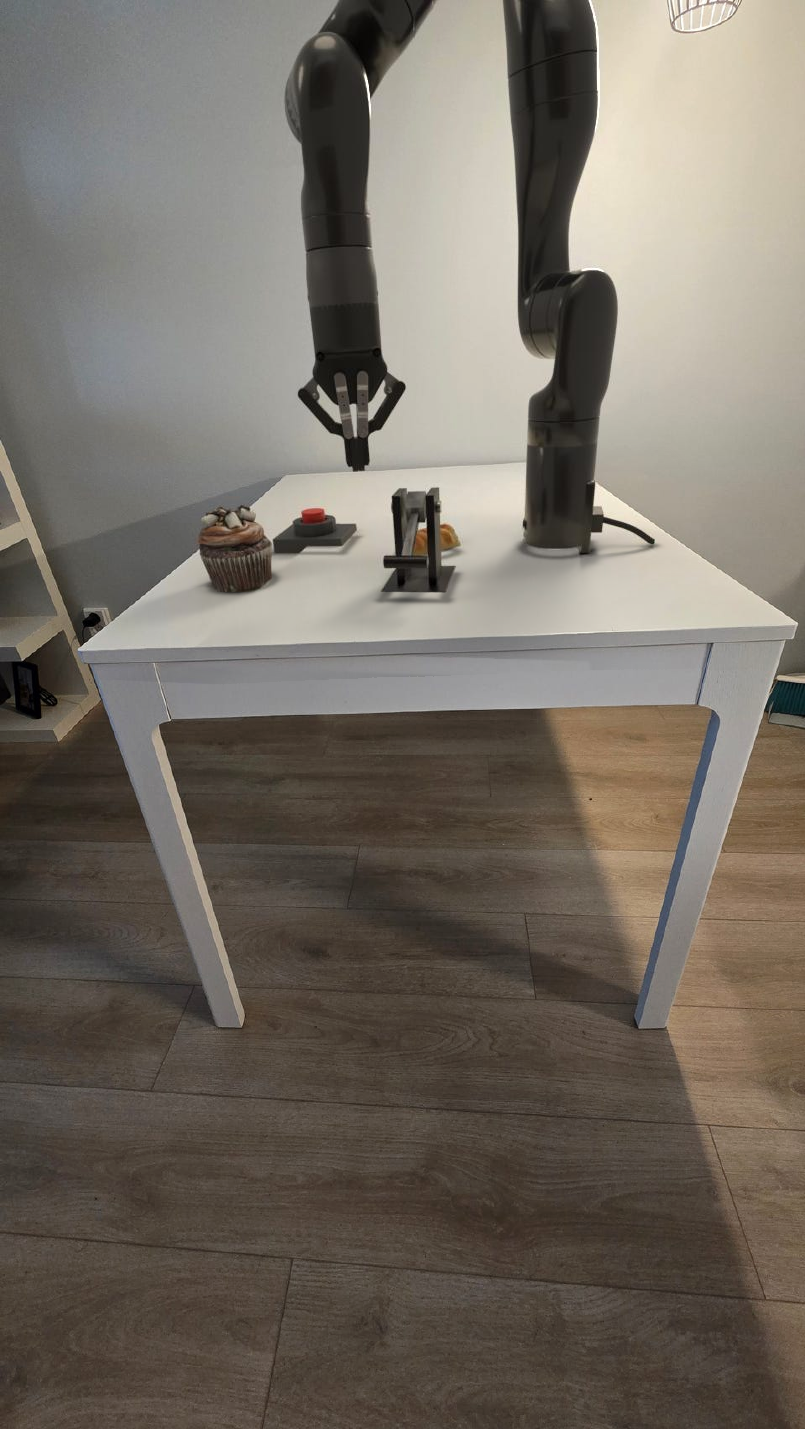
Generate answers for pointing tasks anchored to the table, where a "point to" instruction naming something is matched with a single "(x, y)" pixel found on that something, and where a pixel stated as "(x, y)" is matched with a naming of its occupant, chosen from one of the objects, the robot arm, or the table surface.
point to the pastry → (447, 539)
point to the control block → (312, 535)
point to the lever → (410, 534)
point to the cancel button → (313, 515)
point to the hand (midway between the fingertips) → (358, 470)
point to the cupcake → (235, 550)
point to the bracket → (435, 574)
